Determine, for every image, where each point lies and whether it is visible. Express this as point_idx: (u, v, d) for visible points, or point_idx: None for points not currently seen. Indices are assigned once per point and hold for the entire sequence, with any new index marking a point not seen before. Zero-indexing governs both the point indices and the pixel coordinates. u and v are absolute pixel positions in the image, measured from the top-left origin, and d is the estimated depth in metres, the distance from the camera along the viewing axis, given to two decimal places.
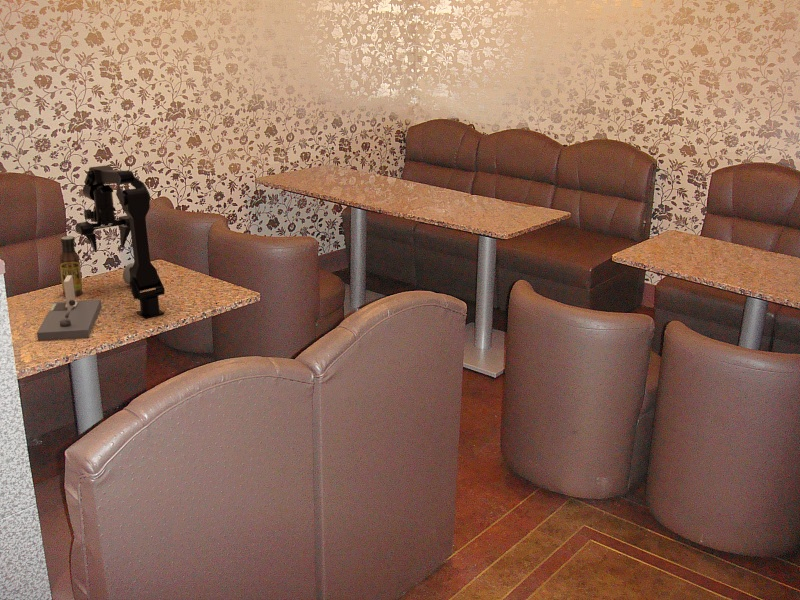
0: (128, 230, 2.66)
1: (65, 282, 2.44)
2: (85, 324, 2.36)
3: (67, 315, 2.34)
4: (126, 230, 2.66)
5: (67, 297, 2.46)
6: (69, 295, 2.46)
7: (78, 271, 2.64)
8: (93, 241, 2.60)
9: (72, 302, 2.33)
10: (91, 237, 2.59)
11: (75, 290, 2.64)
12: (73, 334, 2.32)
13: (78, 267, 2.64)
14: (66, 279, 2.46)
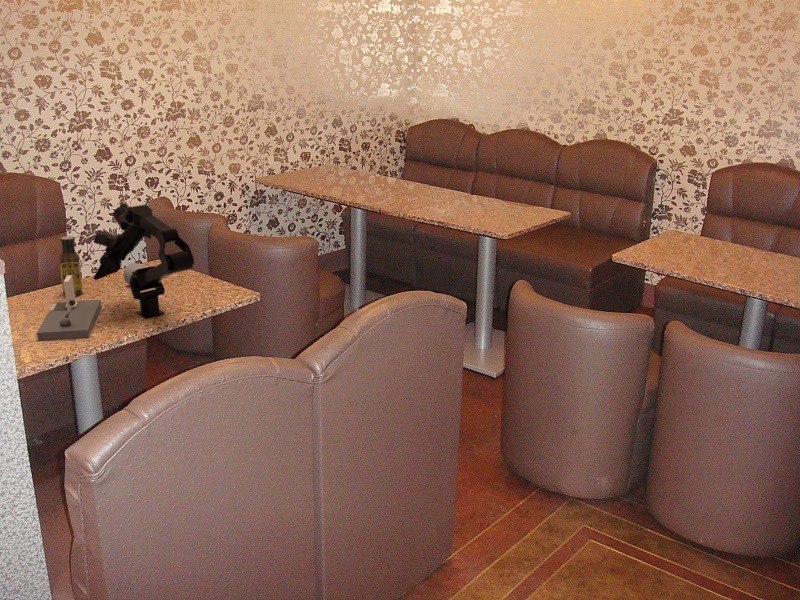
0: (119, 261, 2.54)
1: (65, 282, 2.44)
2: (85, 324, 2.36)
3: (67, 315, 2.34)
4: (119, 261, 2.54)
5: (67, 297, 2.46)
6: (69, 295, 2.46)
7: (78, 271, 2.64)
8: None
9: (72, 302, 2.33)
10: (113, 272, 2.43)
11: (75, 290, 2.64)
12: (73, 334, 2.32)
13: (78, 267, 2.64)
14: (66, 279, 2.46)
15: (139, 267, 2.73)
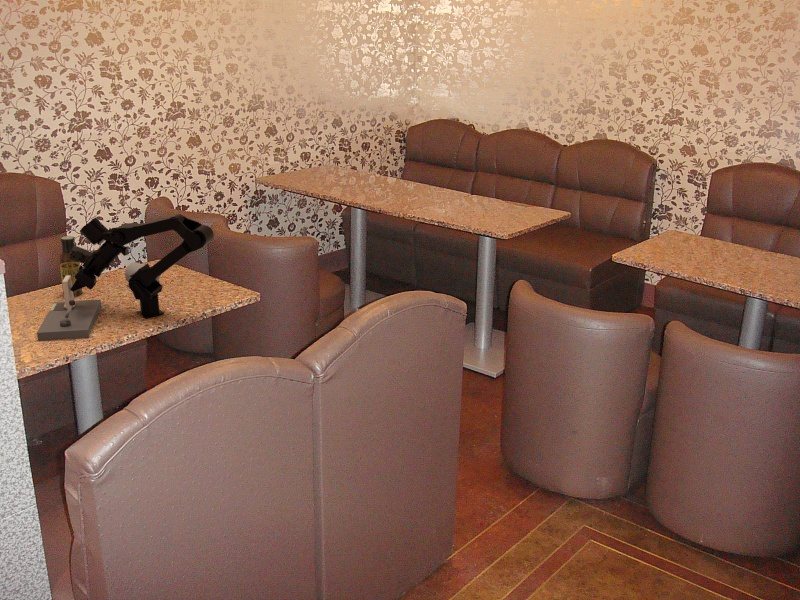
0: None
1: (64, 282, 2.44)
2: (85, 324, 2.36)
3: (67, 315, 2.34)
4: None
5: (66, 297, 2.46)
6: (68, 295, 2.46)
7: None
8: None
9: (72, 302, 2.33)
10: None
11: None
12: (73, 334, 2.32)
13: (78, 267, 2.64)
14: (65, 279, 2.46)
15: (141, 266, 2.74)
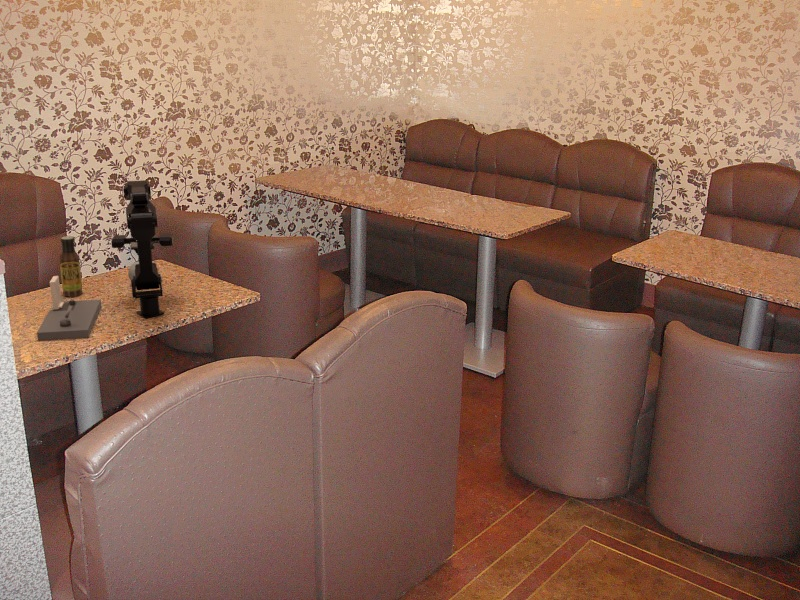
0: None
1: (51, 283, 2.43)
2: (85, 324, 2.36)
3: (67, 315, 2.34)
4: None
5: (53, 298, 2.45)
6: (55, 296, 2.45)
7: (78, 271, 2.64)
8: None
9: (72, 302, 2.33)
10: (136, 251, 2.54)
11: (75, 290, 2.64)
12: (73, 334, 2.32)
13: (78, 267, 2.64)
14: (52, 280, 2.45)
15: None
